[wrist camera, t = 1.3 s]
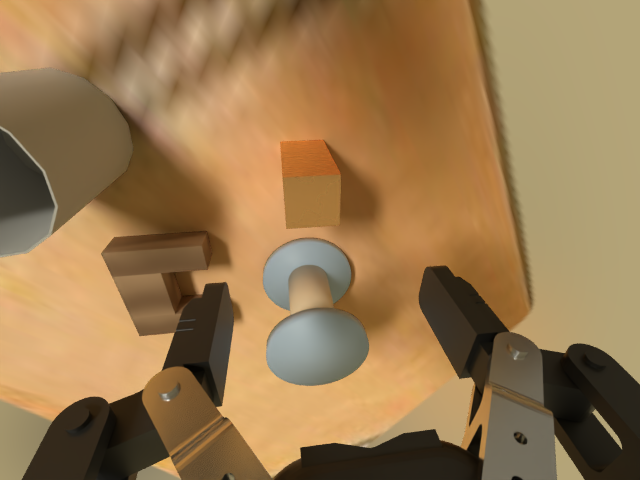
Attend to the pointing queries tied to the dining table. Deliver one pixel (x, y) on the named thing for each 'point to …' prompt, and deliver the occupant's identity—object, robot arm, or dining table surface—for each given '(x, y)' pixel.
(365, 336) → the bobbin
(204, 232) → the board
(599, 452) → the robot arm
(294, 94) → the dining table surface
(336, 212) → the block
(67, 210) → the cup
